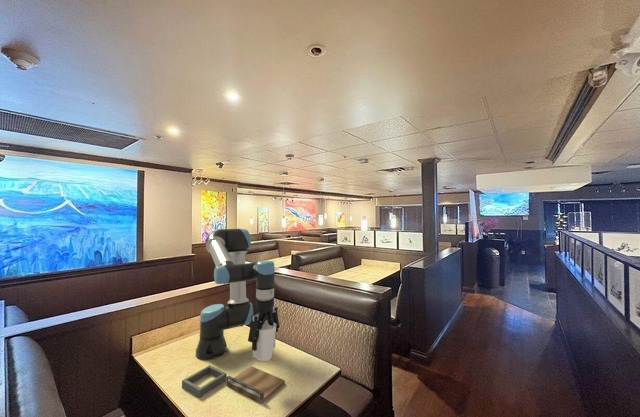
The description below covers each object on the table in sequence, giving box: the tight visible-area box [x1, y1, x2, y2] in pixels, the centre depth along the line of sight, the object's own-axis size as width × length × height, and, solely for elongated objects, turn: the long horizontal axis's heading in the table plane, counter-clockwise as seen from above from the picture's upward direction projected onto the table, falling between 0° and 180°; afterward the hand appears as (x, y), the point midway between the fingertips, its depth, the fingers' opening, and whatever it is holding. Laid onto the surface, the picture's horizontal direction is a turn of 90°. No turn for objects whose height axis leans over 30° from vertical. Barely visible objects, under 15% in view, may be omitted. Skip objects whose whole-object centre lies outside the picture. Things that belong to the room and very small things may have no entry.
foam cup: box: [257, 320, 277, 362], centre depth 109 cm, size 10×9×13 cm
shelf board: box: [226, 365, 286, 405], centre depth 110 cm, size 20×14×4 cm
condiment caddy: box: [181, 365, 228, 399], centre depth 110 cm, size 12×13×3 cm
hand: (264, 351), depth 109 cm, fingers closed on foam cup, 9 cm apart
